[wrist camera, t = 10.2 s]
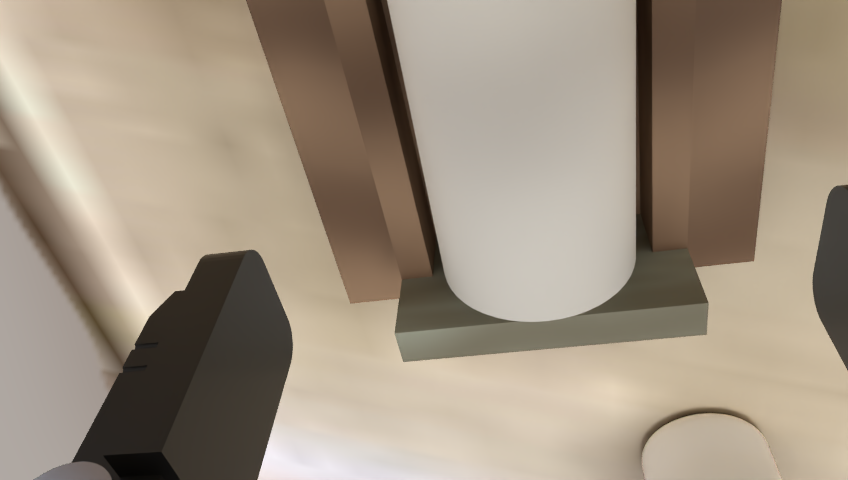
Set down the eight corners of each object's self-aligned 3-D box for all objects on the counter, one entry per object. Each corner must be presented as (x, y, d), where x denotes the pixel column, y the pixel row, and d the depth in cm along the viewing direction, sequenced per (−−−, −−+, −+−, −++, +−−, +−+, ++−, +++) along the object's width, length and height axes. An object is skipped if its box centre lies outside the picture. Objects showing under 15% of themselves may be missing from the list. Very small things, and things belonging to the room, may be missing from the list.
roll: (356, -231, 16) (321, -210, 11) (605, -286, 15) (671, -285, 11) (445, 221, 23) (445, 340, 19) (615, 199, 22) (656, 317, 18)
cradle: (142, -362, 16) (8, -389, 11) (817, -552, 13) (985, -680, 9) (355, 282, 27) (330, 397, 22) (743, 239, 24) (802, 358, 20)
